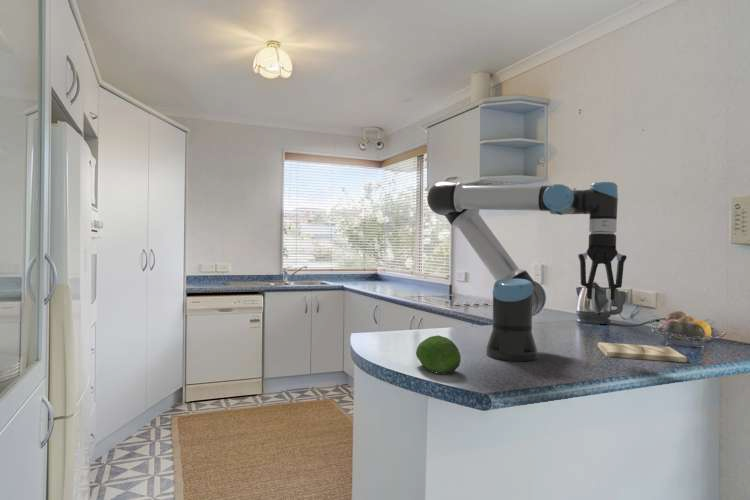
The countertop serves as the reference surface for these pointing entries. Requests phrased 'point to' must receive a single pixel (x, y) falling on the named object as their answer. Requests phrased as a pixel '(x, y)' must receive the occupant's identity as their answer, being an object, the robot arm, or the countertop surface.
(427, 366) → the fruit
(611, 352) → the board
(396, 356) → the countertop surface
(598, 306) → the stone
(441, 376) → the countertop surface
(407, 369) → the countertop surface
